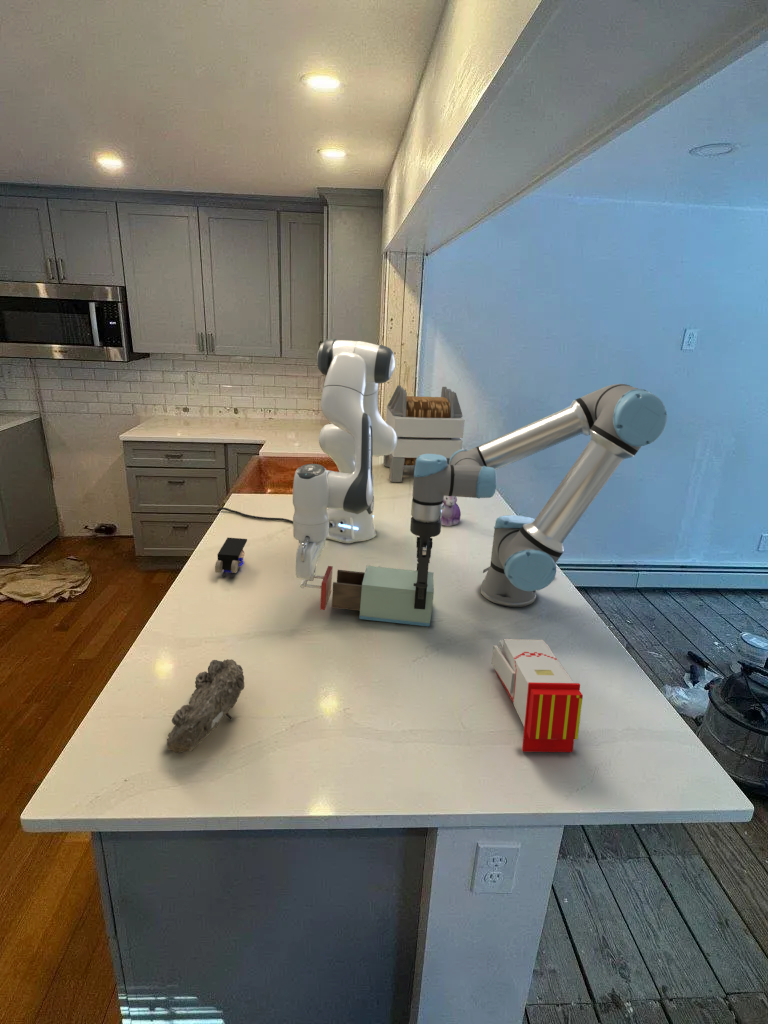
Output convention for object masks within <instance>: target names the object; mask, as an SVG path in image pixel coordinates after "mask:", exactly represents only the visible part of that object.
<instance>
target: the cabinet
mask: <svg viewBox="0 0 768 1024" xmlns="http://www.w3.org/2000/svg"><path fill="white" fill-rule="evenodd" d="M364 572H365V574H364V578H363V582H362V591H361V604H360V611H359V615H358V617H359V618H358V619H359V620H365V621H374V622H376V621H377V622H384V623H385V622H386V623H393V624H394V623H395V624H401V625H412V626H419V627H420V626H421V627H428V628H429V627H430V626H431V619H432V612H433V611H432V610H433V602H434V595H435V583H434V579H435V577H434V575H435V574H434V572H432V571H428V579H427V585H428V586H427V593H426V605H425V610H424V609H414V604H415V591H416V586H414V583H417V573H418V571H416V570H414V569H404V568H394V567H387V566H386V567H385V566H376V565H366V566H365V569H364Z"/></svg>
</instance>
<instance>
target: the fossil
mask: <svg viewBox="0 0 768 1024" xmlns="http://www.w3.org/2000/svg"><path fill="white" fill-rule="evenodd" d="M243 670H244V669H243V667H242V665H240V664H237V662H236V661H235V660H234V659H232V658H231V659H227V658H226V659H224V660H223V661H222V660H217V659H212V660H211V661H210V663H209V665H208V666H207V671H201V672H199V673H198V674H197V675H196V676H195V680H194V684H195V685H194V687H195V689H194V690H193V693H192V694H191V697H190V698H189V700H188V704H184V705H182V706H181V707H180V709H177V710H176V711H175V713H174V715H173V716H172V718H171V723H172V724H173V727H172V730H171V731H170V732H168V734H167V738H166V741H167V742H166V745H167V749H168V750H169V751H173V752H174V753H176V754H178V753H182V752H188V751H189V752H192V751H193V750H195V748H196V747H197V746H199V744H200V743H201V742H203V741H204V740H205V739H206V738H207V737H208V736H209V735H210V734H211V733H212V732H214V730H215V729H217V727H218V726H219V724H220V722H221V721H222V720H223V719H224V718H225V716H226V717H227V719H229V720H233V717H232V715H230V714H229V710H230V709H231V708H234V706H235V704H236V703H237V702H238V699H239V697H240V695H241V693H242V691H243V690H245V689H244V688H245V675H244V671H243Z"/></svg>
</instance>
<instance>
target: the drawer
mask: <svg viewBox="0 0 768 1024" xmlns="http://www.w3.org/2000/svg"><path fill="white" fill-rule="evenodd" d="M364 574H365V571H356V570H346V569H337V572H336V581H333V566H332V565H328V566H327V568H326V570H325V573H324V575H317V574H316V575H315V577H314V579H318V580H319V579H321V585H316V584H308V582H309V581H308V580H307V579H301V582H300V584H299V588H301V589H305V588H310V589H318V590H320V604H319V605H320V607H319V609H320V610H321V611H326V608H327V605H328V602H329V599H330V596H331V608H332V609H342V610H352V611H358V612H360V604H361V591H362V582H363V578H364ZM331 593H332V595H331Z"/></svg>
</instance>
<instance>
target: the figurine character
mask: <svg viewBox="0 0 768 1024" xmlns="http://www.w3.org/2000/svg"><path fill="white" fill-rule="evenodd" d="M247 542H248V538H240V537H226V539H225V541H224V543H223V544H222V546H221V547H220V549H219V551H218V552H217V560H216V562H215V564H214V572H215V573H221V577H222V578H224V577H225V576H226V574H227V573H230V574H231V573H232V574H231V578H234V577H235V575H236V573H237V572H239V571H240V567H242V566H243V565H244V564H245V562H244V558H245V551H244V547H245V546H246V544H247Z"/></svg>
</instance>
